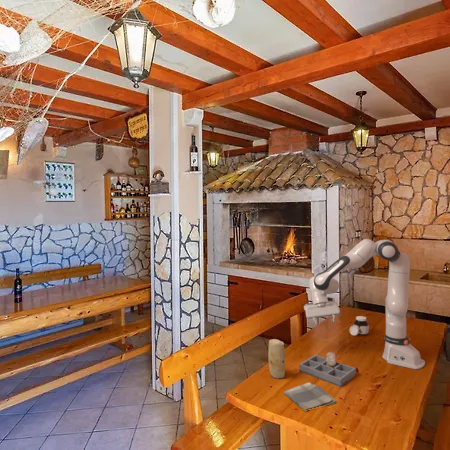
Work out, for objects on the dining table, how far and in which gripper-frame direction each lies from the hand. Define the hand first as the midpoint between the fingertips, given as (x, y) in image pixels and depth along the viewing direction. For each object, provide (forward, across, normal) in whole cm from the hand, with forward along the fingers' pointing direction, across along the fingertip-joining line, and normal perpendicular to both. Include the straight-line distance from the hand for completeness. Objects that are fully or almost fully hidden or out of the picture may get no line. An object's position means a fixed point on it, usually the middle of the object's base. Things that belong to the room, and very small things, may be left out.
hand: (325, 323), depth 215 cm
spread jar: (-2, +28, +47) cm, 55 cm away
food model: (+27, -33, -9) cm, 44 cm away
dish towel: (+42, -19, -24) cm, 52 cm away
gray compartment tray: (+28, -6, -3) cm, 28 cm away
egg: (+25, -3, -1) cm, 26 cm away
